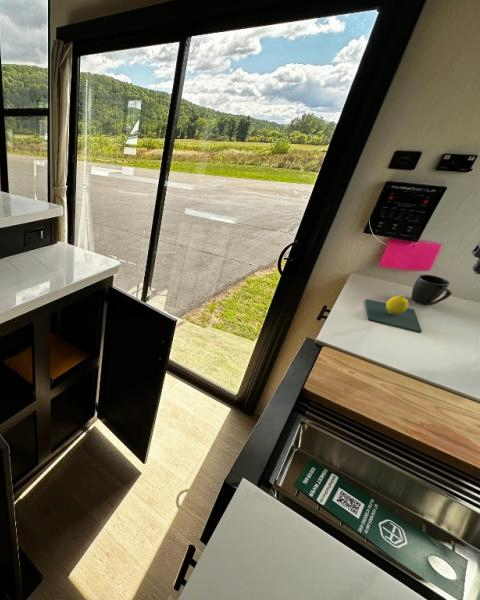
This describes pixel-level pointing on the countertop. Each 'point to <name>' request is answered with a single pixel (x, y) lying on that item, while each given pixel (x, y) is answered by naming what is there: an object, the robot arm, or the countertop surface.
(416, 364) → the countertop surface
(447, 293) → the mug
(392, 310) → the fruit
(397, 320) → the mat
